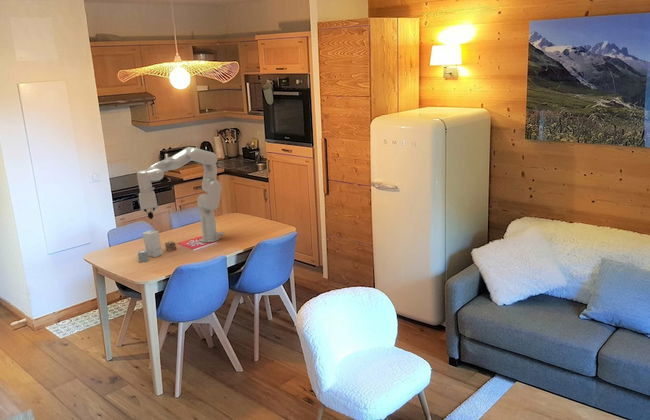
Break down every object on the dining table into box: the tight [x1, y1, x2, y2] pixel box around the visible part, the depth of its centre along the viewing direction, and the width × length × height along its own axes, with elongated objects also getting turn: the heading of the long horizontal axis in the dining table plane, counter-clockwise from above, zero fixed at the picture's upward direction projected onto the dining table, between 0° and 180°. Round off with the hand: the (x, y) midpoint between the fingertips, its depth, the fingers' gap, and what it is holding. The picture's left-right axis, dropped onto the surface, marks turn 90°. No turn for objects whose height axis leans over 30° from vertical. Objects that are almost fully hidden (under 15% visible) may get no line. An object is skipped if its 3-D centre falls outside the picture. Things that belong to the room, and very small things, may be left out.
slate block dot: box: [137, 249, 149, 263], centre depth 345 cm, size 5×5×6 cm
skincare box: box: [142, 230, 163, 258], centre depth 352 cm, size 8×7×16 cm
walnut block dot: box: [164, 240, 177, 252], centre depth 362 cm, size 5×5×5 cm
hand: (151, 218), depth 350 cm, fingers closed
